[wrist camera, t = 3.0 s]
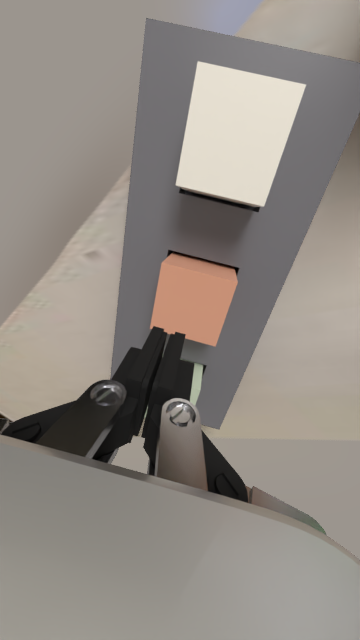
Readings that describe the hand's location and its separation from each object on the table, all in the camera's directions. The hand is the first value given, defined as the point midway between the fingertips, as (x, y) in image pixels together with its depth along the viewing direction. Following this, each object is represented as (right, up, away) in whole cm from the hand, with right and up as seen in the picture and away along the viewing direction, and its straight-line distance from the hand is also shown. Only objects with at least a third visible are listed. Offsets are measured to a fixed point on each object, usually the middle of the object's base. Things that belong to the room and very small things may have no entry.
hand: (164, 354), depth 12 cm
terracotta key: (+2, +5, +10) cm, 12 cm away
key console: (+3, +6, +13) cm, 14 cm away
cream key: (+5, +14, +6) cm, 16 cm away
